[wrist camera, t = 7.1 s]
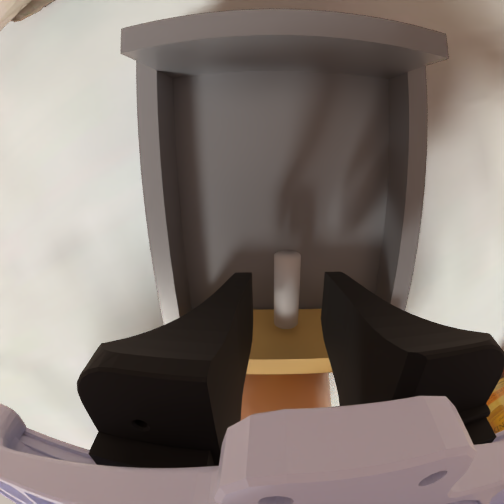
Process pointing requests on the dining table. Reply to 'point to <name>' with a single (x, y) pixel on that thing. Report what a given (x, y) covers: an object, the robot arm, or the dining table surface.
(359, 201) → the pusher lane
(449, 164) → the dining table surface
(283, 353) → the tan pusher block
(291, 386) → the jar
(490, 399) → the sauce bottle
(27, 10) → the packaged product
